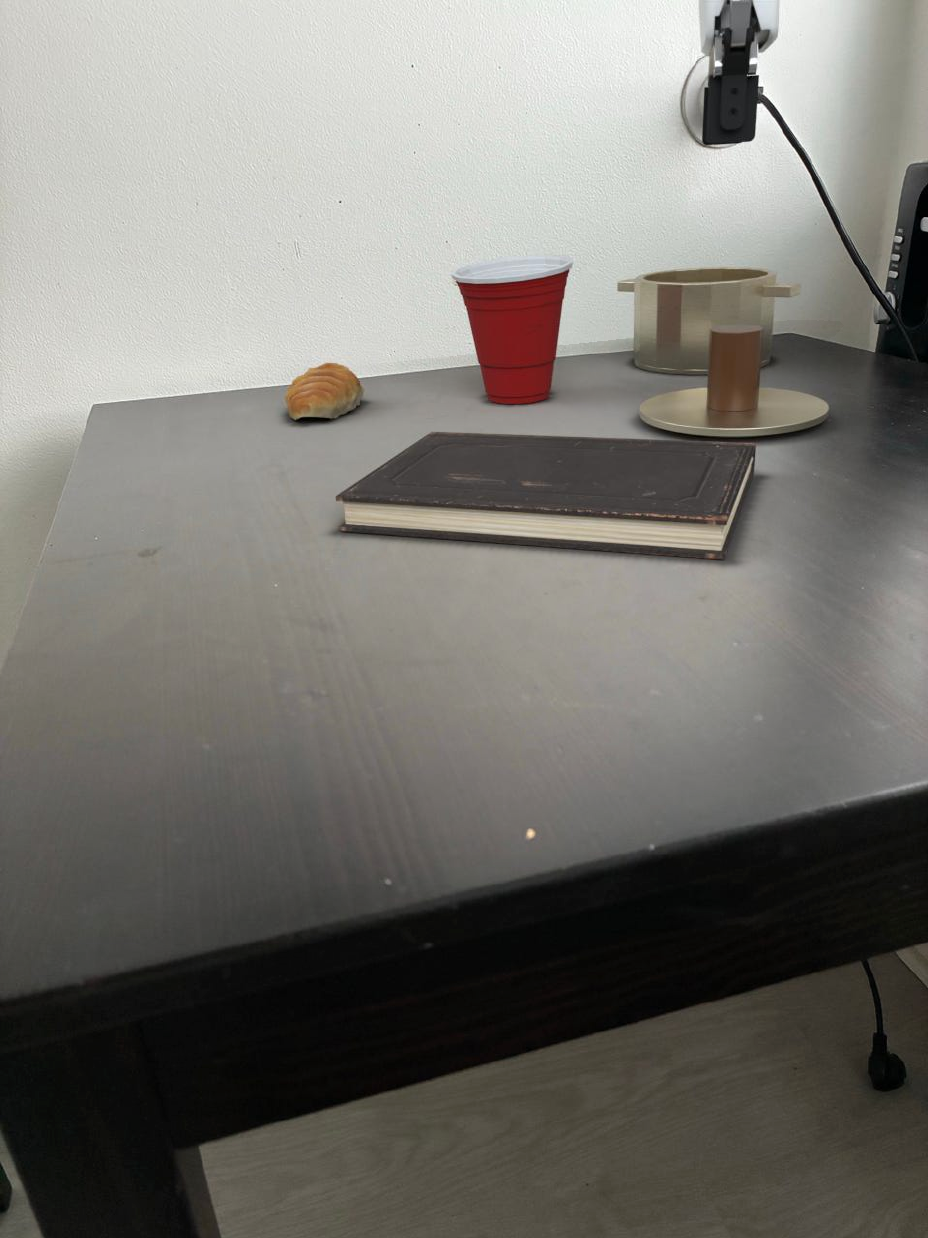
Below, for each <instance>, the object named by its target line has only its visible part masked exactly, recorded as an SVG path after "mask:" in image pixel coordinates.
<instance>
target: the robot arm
mask: <svg viewBox="0 0 928 1238" xmlns="http://www.w3.org/2000/svg"><path fill="white" fill-rule="evenodd" d="M698 20H699V21H698V22H699V38H700V49H701V50H700V52H701V53H702V54H703V55H705V57H707V58H708V68H707V84H706V86H704V88H703V108H702V109H703V110H702V132H701V133H702V134H701V142H702V144H703V145H704V146H718V145H735V144H742V143H750V142H752V141H754V139H755V138H756V130H757V115H758V101H759V100H758V99H759V98H758V97H759V82H760V75H759V74H757V70H758V69H757V68H758V54H762V53H764V52H766V51H767V50H768V49H769V48H770V47H771V46H772V45H773V44H774V43H775V41H776V40H777V39H778V36H779V29H780V28H779V27H780V26H779V25H780V0H698Z"/></svg>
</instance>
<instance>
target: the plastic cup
mask: <svg viewBox="0 0 928 1238" xmlns="http://www.w3.org/2000/svg"><path fill="white" fill-rule="evenodd" d="M573 263H574V257H570V256H566V255H561V254H527V255H516V256H506V257H500V258H494V259H487V260H482V261H478V262H473V263H470V264H465V265H463V266H460V267H458V268H455V269H454V270H453V271H452V272H451V274H450V276H451V278H452V280H454V281H455V283H456V284H457V287H458V289H459V292H460V295H461V296H462V301H463V305H464V307H465V310H466V313H467V318H468V322H469V326H470V331H471V335H472V339H473V344H474V349H475V354H476V358H477V362H478V364H479V367H480V371H481V376H482V381H483V387H484V391H485V393H486V395H487V400H488V401H490V402H491V403H496V404H501V405H502V404H503V405H506V404H507V405H522V404H530V403H537V402H540V401H541V402H542V401H544V400H547V399H548V398H549V397H550V391H551V390H552V382H553V373H554V366H555V361H556V358H557V349H558V343H559V335H560V325H561V317H562V312H563V311H562V310H563V304H564V303H563V302H564V300H565V294H566V292H565V291H566V287H567V282H568V277H569V273H570V270H571V269H572V268H573Z"/></svg>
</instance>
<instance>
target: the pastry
mask: <svg viewBox="0 0 928 1238" xmlns="http://www.w3.org/2000/svg"><path fill="white" fill-rule="evenodd" d="M291 382H292V383H291V384H290V386H289V387H288V389H287V390H286V394H285V396H284V397H285V402H286V405H287V412H288V414H289V417H290V419H293V420H295V421H297V420H299V419H300V418H325V419H330V420H333V419H334V420H335V419H338V417H340V416H341V415H347V414H348V413H349V412H352V411H354V410H355V409H356V408H357V406H360V405H361V400H362V399H363V396H364V394H365V387H364V386H363V385H362V384H361V382H360V380H359V378H358V376H357V375H356V374H355V373H354V372H353V371H351V369H349V367H348V366H345V365H343V364H339V363H337V362H325V363H322V364H319V365H318V366H316V367H308V369H307V371H305V373H304V374H301V375H298V376H296V377H295V378H294V379H293V380H292V381H291Z"/></svg>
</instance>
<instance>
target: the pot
mask: <svg viewBox="0 0 928 1238" xmlns="http://www.w3.org/2000/svg"><path fill="white" fill-rule="evenodd" d="M777 273H778V271H775V270H771V269H768V268H761V267H760V268H759V267H758V268H757V267H746V266H745V267H741V266H740V267H738V266H719V267H718V266H716V267H692V268H691V267H690V268H678V269H677V268H675V269H668V270H667V269H666V270H660V271H651V272H648V273H643V274H640V275H637V276H636V277H635V278H627V279H623V280H619V281H617V282H616V283H617V287H616V289H617V290H616V291H617V292H625V293H626V292H627V293H634V294H633V306H634V307H633V360H634V365H635V367H637V368H639V369H641V370H645V371H648V372H653V373H659V374H668V375H681V376H682V375H683V376H700V375H701V376H708V358H709V335H710V329H711V328H713V327H716V326H722V325H756V326H760V327H762V328H763V339H762V355H761V368H763V367H765V366H767V365H769V364H770V362H771V356H772V345H773V333H774V332H773V331H774V317H775V316H774V315H775V301H776V298H792V297H795V296H799V295H801V292H802V291H801V290H802V283H801V282H777Z"/></svg>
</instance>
